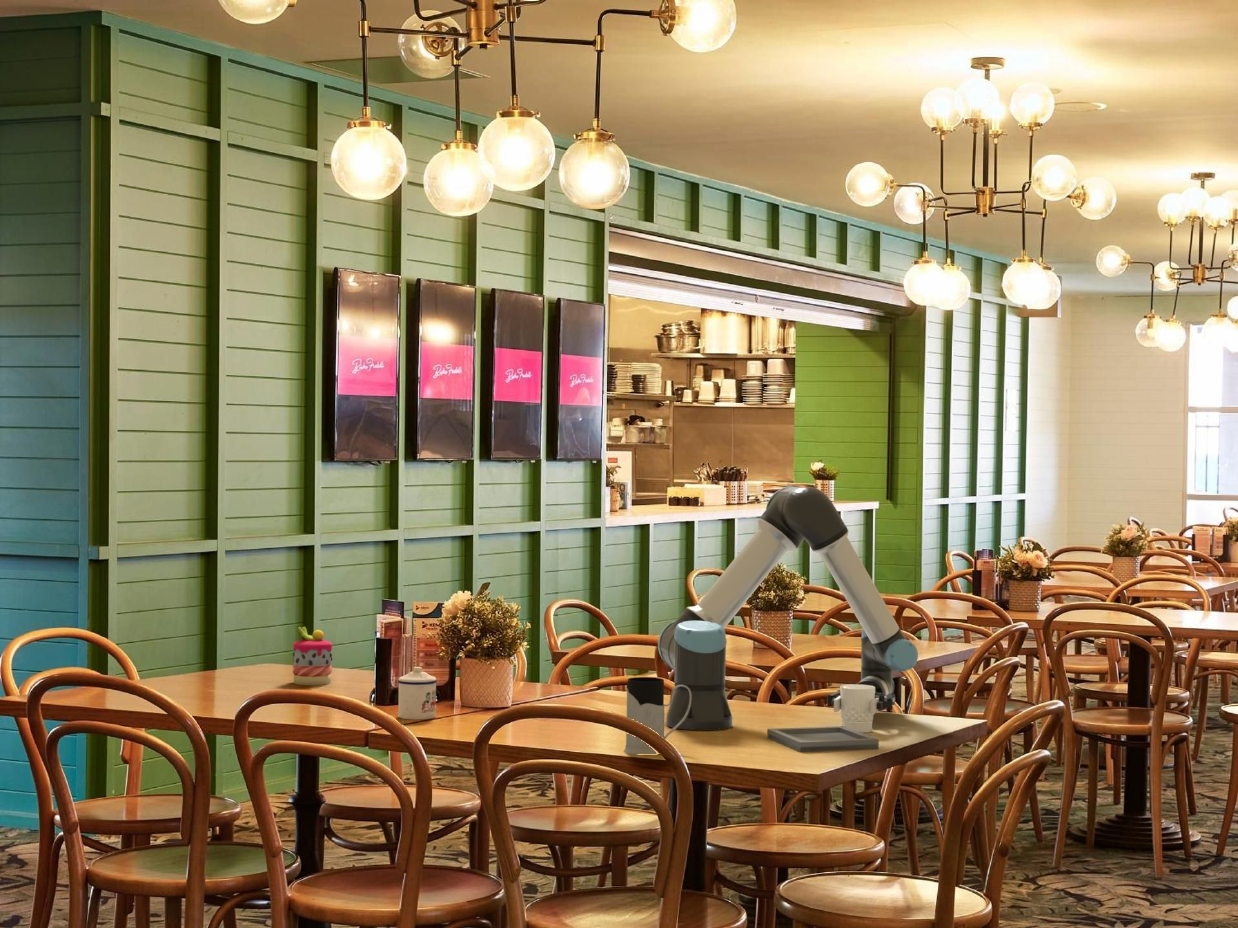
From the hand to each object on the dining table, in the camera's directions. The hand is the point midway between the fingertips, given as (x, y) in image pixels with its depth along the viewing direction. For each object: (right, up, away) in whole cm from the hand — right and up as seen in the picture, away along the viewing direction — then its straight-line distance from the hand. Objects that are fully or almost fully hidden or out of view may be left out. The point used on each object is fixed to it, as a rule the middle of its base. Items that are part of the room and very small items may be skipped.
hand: (853, 706), depth 356 cm
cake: (-135, -5, +73) cm, 154 cm away
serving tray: (-9, -6, -13) cm, 17 cm away
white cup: (+1, -6, +5) cm, 8 cm away
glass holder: (-45, -5, -26) cm, 52 cm away
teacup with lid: (-100, -5, +17) cm, 101 cm away
